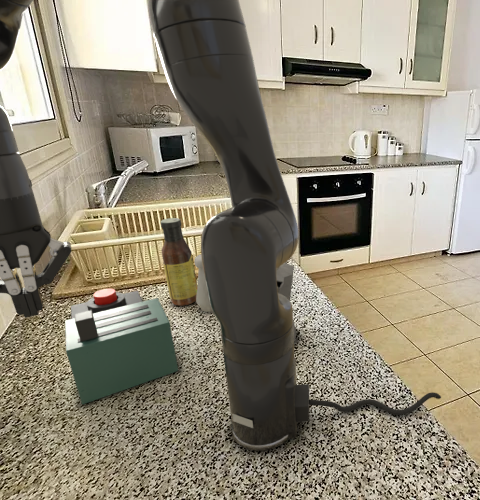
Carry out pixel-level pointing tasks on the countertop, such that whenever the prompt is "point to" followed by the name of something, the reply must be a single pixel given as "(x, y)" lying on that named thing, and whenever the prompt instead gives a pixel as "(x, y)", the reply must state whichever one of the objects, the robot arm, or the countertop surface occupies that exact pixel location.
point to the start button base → (121, 301)
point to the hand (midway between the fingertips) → (32, 313)
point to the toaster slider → (86, 325)
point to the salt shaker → (202, 287)
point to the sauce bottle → (178, 264)
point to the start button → (105, 296)
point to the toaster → (121, 350)
